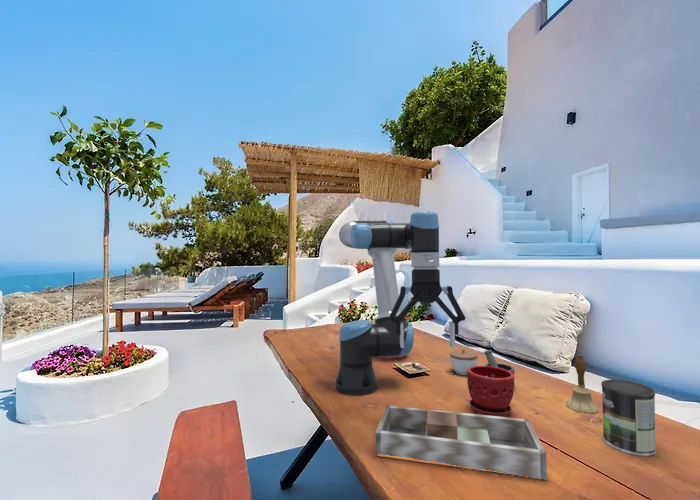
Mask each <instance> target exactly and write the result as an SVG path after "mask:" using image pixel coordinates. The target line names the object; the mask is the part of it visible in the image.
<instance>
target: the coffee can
mask: <svg viewBox="0 0 700 500" xmlns="http://www.w3.org/2000/svg"><path fill="white" fill-rule="evenodd" d="M601 393H602V394H601V395H602V403H601V404H602V431H603V432H602V433H603V434H602V435H603V436H602V439H603V441H604V443H605V444H607V445H608V446H609V447H611V448H613V449H615V450H617V451H620V452H622V453H625V454H628V455H632V454H633V455H632V456H637V455H638V456H639V457H651V455H652V456H654V454H655V453H656V454H657V445H656V443H657V440H656V438H657V437H656V406H655V402H656V401H655V396H656V391H655V390H654V388H652V387H649V386H647V385H645V384H642V383H638V382H635V381H630V380H629V381H628V380H624V379H605V380H602V381H601ZM656 454H655V455H656ZM638 456H637V457H638Z"/></svg>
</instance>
